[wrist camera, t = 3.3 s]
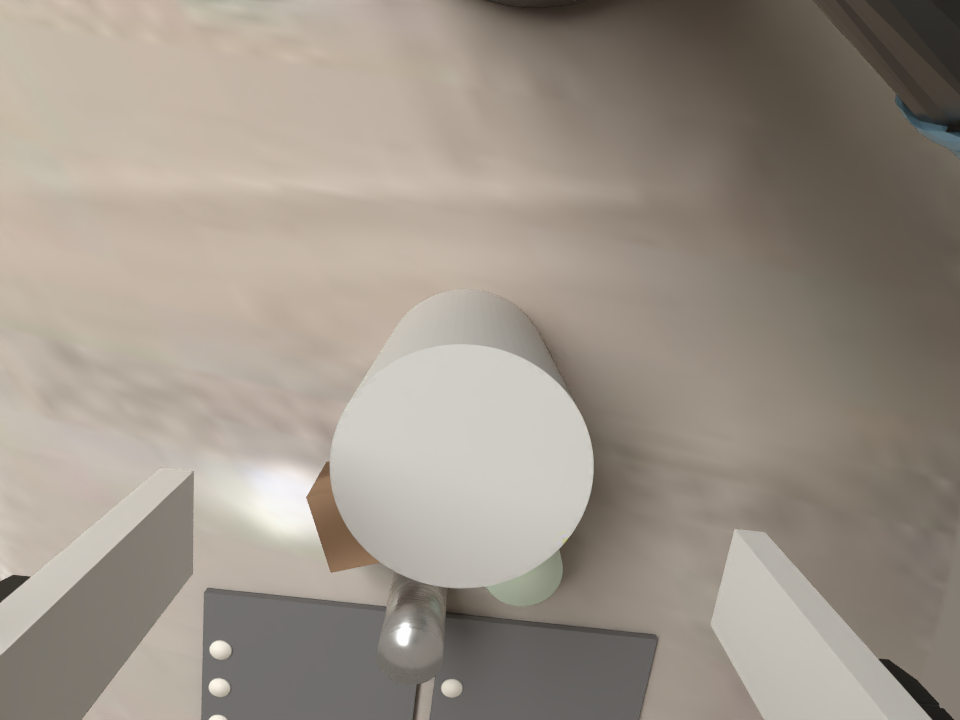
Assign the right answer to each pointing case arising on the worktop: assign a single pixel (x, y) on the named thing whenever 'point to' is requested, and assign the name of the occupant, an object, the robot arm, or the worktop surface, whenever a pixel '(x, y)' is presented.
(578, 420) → the white cylinder
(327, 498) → the walnut block
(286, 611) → the pad three
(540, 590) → the pale green domed piece
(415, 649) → the metal peg
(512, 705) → the pad two
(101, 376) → the worktop surface
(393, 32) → the worktop surface
